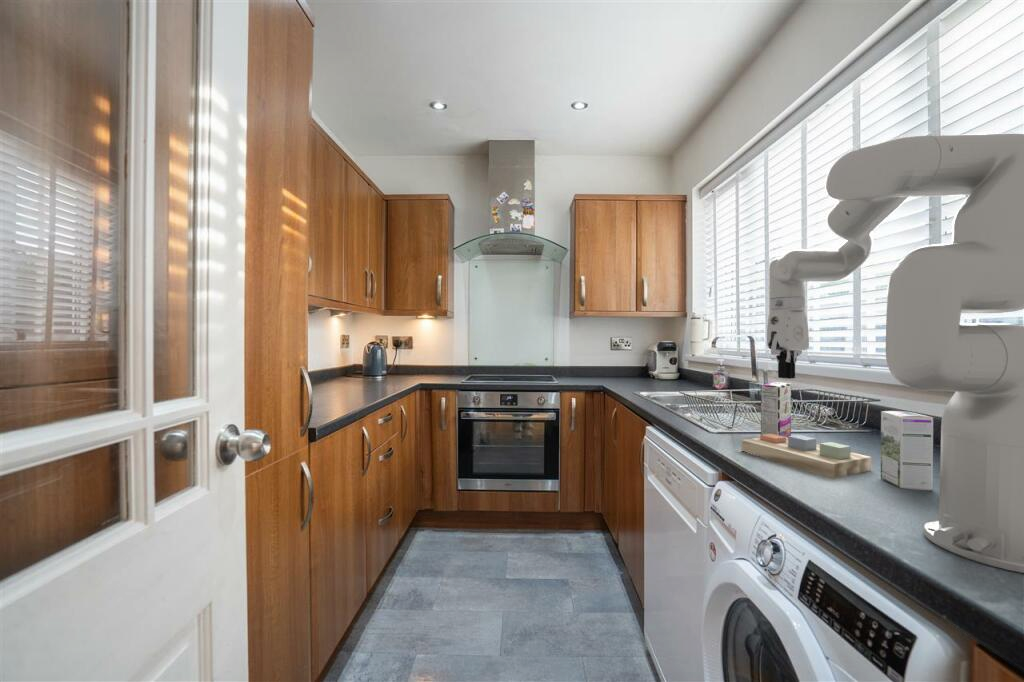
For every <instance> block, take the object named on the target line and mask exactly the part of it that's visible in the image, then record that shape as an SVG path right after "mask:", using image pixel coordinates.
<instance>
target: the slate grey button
mask: <svg viewBox="0 0 1024 682" xmlns="http://www.w3.org/2000/svg"><path fill="white" fill-rule="evenodd" d="M816 444H817V438H815V437H810V436H805V435H800V434H796V435H795V434H794V435H791V436H788V447H791V448H795V449H799V450H803V451H811V450H816Z"/></svg>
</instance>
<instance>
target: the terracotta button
mask: <svg viewBox="0 0 1024 682" xmlns="http://www.w3.org/2000/svg"><path fill="white" fill-rule="evenodd" d="M759 438H760V440H763V441H767V442H771V443H775V444H778V443H785V442H786V437H783V436H779V435H775V434H763V435H761V434H760V436H759Z"/></svg>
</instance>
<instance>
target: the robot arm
mask: <svg viewBox="0 0 1024 682" xmlns="http://www.w3.org/2000/svg"><path fill="white" fill-rule="evenodd" d="M824 181H825V183H824V189H825V193H826V195H827V196H828V197H829V198H830V199H832V200H834V201H837V202H836V203H835V204H834V206H833V207H832V208H831V209H830V210H829V211H828V213H827V215H826V224H827V226H828V227H829V229H830V230H831V232H833V233H834V234H835V235H837V237H840V238H841V239H844V242H843V243H842V244H841V245H839V246H838V247H837V248H811V249H810V248H809V249H808V248H807V249H806V248H805V249H804V248H803V249H791V250H789V251H786V252H785V253H784V254H782V256H780V257H776V258H773V259H772V260H771V261H770V263H769V268H768V269H769V270H768V271H769V273H768V277H769V279H768V280H769V281H768V292H769V294H768V299H769V300H768V306H769V307H768V308H769V310H768V311H769V313H768V319H767V325H766V328H767V329H766V345H767V349H770V354H771V355H773V356H775V357H776V362H777V370H778V371H777V377H778V378H779V379H790V380H791V379H792V380H793V379H795V378H796V363H797V360H798V356H801V355H802V354H803V351H807V350H808V349H809V348H810V336H809V326H808V318H807V313H806V282H828V283H829V282H837V281H840V280H842V279H845V278H846V277H848V276H849V275H851V274H853V273H854V272H855V271H856V270H857V269H858V268H859V267H861V266H862V265H863V264H864V263H865V262H866V261H867V259H868V258H869V256H870V253H872V250H873V249H872V248H873V245H874V238H875V237H874V233H873V231H875V229H877V227H878V226H880V225H881V224H882V223H884V221H885V220H886V219H888V218H889V216H890V215H892V214H893V213H894V212H895V211H896V210H897V209H899V208H900V207H901V206H902V205H903V204H904V203H905V202H906V201H907V200H908V199H910V198H911V197H916V198H917V197H951V196H952V197H953V196H955V197H956V196H967V197H966V198H965V199H964V201H963V202H962V203H961V205H960V207H959V208H958V209H957V211H956V213H955V214H954V216H953V217H954V218H953V220H952V225H951V227H952V238H951V243H936V244H930V245H924V246H921V247H918V248H915V249H913V250H912V251H910V252H908V253H907V254H906V255H903V257H902V258H901V259H900V260H899V261H898V262H897V264H896V265H895V266H894V269H893V270H892V271H891V274H890V277H889V280H888V284H887V285H888V286H887V291H886V321H885V322H886V323H885V359H886V364H887V368H888V370H889V371H890V374H891V375H892V376H893V378H894V379H895V380H896V381H897V382H899V383H900V384H901V385H903V386H905V387H907V388H910V389H914V390H919V391H928V392H929V391H932V392H954V393H953V395H952V396H951V397H950V399H949V401H948V402H947V404H946V406H945V408H944V410H943V412H942V417H941V424H940V425H941V426H940V460H939V462H940V465H939V499H938V500H939V506H938V507H939V509H938V511H939V512H938V520H935V521H928V522H926V523H924V525H923V534H924V536H925V537H926V538H927V539H928V540H929V541H930V542H932V543H933V544H935V545H937V546H939V547H940V548H942V549H945V551H946V550H947V551H949V552H951V553H953V554H956V555H959V556H960V557H963V558H966V559H969V560H972V561H975V562H978V563H982V564H984V565H987V566H992V567H995V568H1000V569H1004V570H1007V571H1011V572H1012V571H1013V572H1015V573H1023V574H1024V325H1021V324H1015V323H1004V322H1003V323H1002V322H1001V323H999V322H964V323H963V322H962V323H961V322H960V321H961V314H1002V313H1013V312H1017V311H1021V310H1024V133H969V134H968V133H967V134H966V133H963V134H949V135H947V134H943V135H942V134H941V135H915V136H905V137H900V138H896V139H891V140H887V141H884V142H880V143H875V144H872V145H869V146H865V147H864V146H863V147H860V148H858V149H854V150H851V151H849V152H847V153H846V154H844V155H842V156H841V157H840V158H839V159H838V160H836V161H835V163H834V164H833V165H832V167H831V168H830V169H829V171H828V172H827V175H826V177H825V180H824Z"/></svg>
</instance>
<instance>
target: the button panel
mask: <svg viewBox="0 0 1024 682" xmlns="http://www.w3.org/2000/svg"><path fill="white" fill-rule="evenodd" d="M742 451H745V452H748V453H747V454H749V453H752V454H755V455H754V456H756V455H758V456H757V457H759V456H761V457H760V458H762V457H764V459H766V458H768V459H767V460H769V459H770V461H773V462H775V463H779V462H780V464H784V465H787V466H790V467H793V468H796V467H797V468H796V469H800V470H804V471H806V472H811V473H813V474H814V473H815V474H818V475H821V476H824V477H827V478H831V479H836V478H841V477H846V476H850V475H856V474H861V473H865V472H870V471H872V463H873V461H872V458H873V457H872V456H869V455H863V454H860V453H856V452H852V451H851V458H849V459H844V460H838V459H834V458H830V457H826V456H823V455H820V444H818V443H816V450H811V451H803V450H799V449H795V448H791V447H788V438H787V437H786V442H785V443H778V444H775V443H771V442H767V441H763V440H760V437H754V438H746V439H741V452H742ZM745 452H744V453H745ZM752 454H751V455H752Z"/></svg>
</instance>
